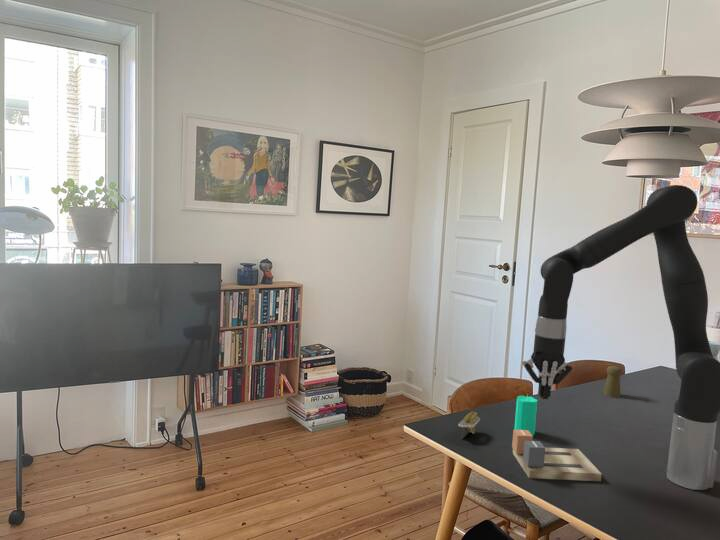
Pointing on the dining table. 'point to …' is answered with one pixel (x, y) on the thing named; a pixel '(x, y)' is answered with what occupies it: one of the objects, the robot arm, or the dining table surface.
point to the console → (562, 466)
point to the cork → (613, 382)
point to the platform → (469, 424)
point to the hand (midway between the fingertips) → (543, 398)
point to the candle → (526, 414)
